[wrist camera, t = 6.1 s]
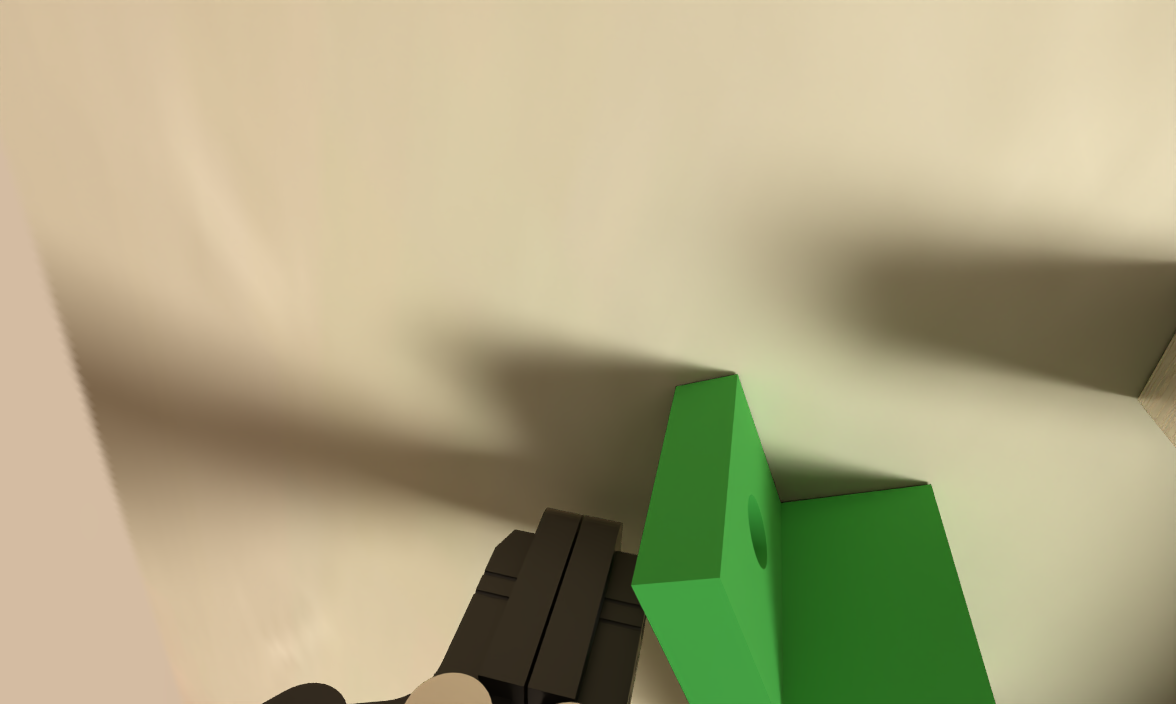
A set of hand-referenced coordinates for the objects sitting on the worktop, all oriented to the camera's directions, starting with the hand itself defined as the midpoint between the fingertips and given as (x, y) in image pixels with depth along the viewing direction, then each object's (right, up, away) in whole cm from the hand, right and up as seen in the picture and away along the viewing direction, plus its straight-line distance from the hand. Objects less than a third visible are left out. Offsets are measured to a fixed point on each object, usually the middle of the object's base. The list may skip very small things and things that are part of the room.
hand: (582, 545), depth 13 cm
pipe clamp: (+5, -1, +1) cm, 6 cm away
